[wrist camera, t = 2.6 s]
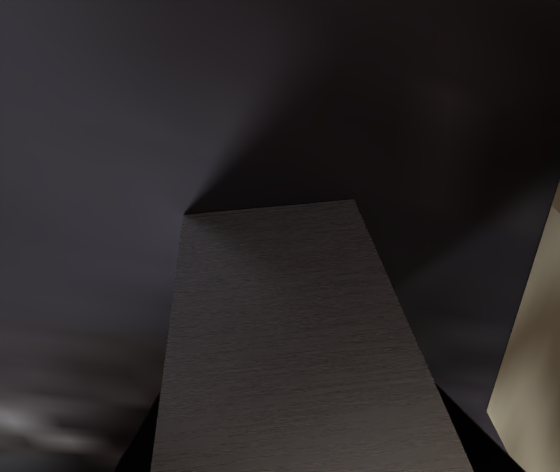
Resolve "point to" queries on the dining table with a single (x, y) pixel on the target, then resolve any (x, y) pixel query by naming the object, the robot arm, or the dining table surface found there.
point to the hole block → (534, 363)
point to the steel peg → (294, 352)
